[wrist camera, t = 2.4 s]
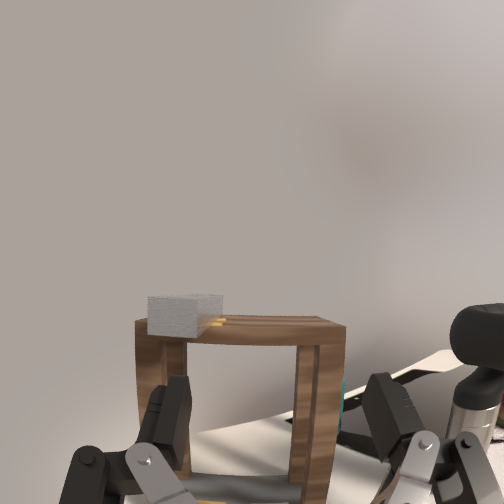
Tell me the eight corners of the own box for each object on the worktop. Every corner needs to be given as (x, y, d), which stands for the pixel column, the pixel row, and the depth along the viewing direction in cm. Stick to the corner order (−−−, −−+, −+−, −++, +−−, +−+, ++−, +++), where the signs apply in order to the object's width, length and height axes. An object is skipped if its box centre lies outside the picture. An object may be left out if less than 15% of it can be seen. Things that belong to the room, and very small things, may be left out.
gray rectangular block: (196, 338, 22) (197, 299, 23) (147, 334, 22) (147, 296, 23) (222, 314, 46) (223, 295, 46) (197, 313, 46) (197, 294, 46)
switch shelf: (320, 528, 28) (346, 324, 32) (155, 522, 28) (134, 319, 32) (303, 476, 44) (315, 314, 48) (176, 472, 44) (169, 310, 48)
